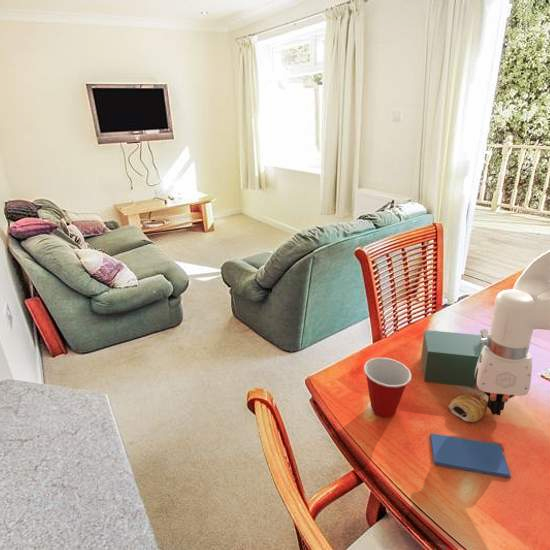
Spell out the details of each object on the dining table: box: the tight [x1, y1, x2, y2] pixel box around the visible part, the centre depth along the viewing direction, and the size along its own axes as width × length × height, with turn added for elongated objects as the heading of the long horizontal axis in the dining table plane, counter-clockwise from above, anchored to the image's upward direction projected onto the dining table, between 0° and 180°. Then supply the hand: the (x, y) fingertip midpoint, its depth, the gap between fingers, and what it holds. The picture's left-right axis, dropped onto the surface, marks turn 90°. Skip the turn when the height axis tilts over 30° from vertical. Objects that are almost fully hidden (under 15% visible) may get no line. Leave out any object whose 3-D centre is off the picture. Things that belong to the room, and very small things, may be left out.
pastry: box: [448, 393, 488, 423], centre depth 89 cm, size 9×7×4 cm
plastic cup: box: [363, 357, 412, 419], centre depth 90 cm, size 11×11×12 cm
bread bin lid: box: [423, 328, 489, 359], centre depth 99 cm, size 16×11×4 cm, turn 75°
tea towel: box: [430, 433, 512, 479], centre depth 79 cm, size 14×8×1 cm, turn 74°
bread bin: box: [420, 333, 484, 388], centre depth 101 cm, size 16×11×9 cm
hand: (494, 410), depth 88 cm, fingers closed
